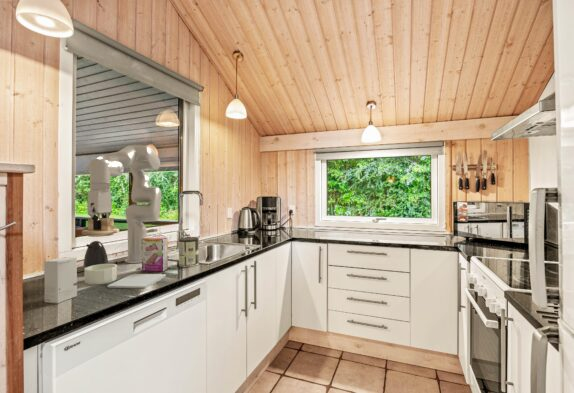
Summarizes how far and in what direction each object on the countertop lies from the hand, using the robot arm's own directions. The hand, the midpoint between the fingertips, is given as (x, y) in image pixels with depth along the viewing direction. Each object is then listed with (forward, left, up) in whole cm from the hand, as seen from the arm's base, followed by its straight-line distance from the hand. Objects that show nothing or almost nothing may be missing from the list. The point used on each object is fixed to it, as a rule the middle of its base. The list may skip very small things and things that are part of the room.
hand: (100, 228), depth 135 cm
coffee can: (-31, +27, -23) cm, 47 cm away
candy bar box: (-18, +15, -23) cm, 33 cm away
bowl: (0, 0, -23) cm, 23 cm away
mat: (0, +17, -23) cm, 29 cm away
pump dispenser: (-13, -12, -23) cm, 29 cm away
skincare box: (+23, +1, -23) cm, 33 cm away
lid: (0, 0, -3) cm, 3 cm away
